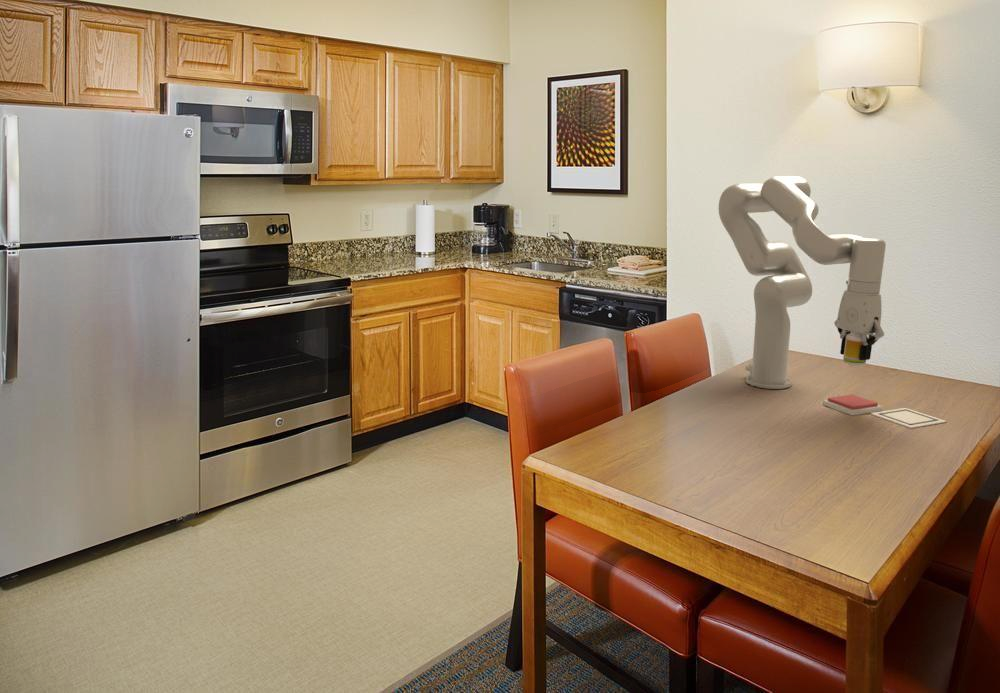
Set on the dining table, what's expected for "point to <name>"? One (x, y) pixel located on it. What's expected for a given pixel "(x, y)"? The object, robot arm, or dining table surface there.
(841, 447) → the dining table surface
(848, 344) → the supplement bottle
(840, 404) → the ink pad
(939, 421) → the marked sheet
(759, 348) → the robot arm
